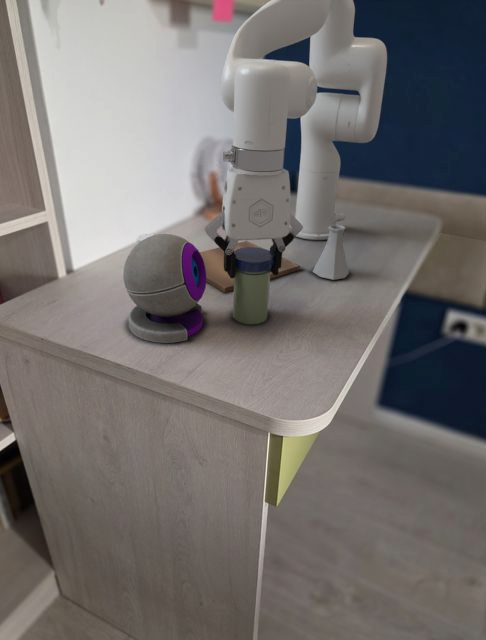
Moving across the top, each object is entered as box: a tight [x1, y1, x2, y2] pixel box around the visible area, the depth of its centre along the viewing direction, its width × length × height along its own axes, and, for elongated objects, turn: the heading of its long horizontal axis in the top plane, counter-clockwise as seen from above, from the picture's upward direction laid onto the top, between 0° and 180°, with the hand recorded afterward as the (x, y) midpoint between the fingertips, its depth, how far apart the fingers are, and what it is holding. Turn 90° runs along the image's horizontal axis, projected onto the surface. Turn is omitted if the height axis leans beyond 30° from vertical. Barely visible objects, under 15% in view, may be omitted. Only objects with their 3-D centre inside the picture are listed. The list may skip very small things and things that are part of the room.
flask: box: [312, 223, 350, 281], centre depth 101 cm, size 7×7×10 cm
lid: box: [234, 247, 274, 272], centre depth 81 cm, size 7×7×2 cm
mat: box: [199, 240, 301, 293], centre depth 105 cm, size 20×18×1 cm
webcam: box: [122, 233, 207, 344], centre depth 79 cm, size 13×13×15 cm
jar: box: [232, 268, 271, 325], centre depth 84 cm, size 6×6×10 cm
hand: (252, 272), depth 82 cm, fingers closed on lid, 6 cm apart
